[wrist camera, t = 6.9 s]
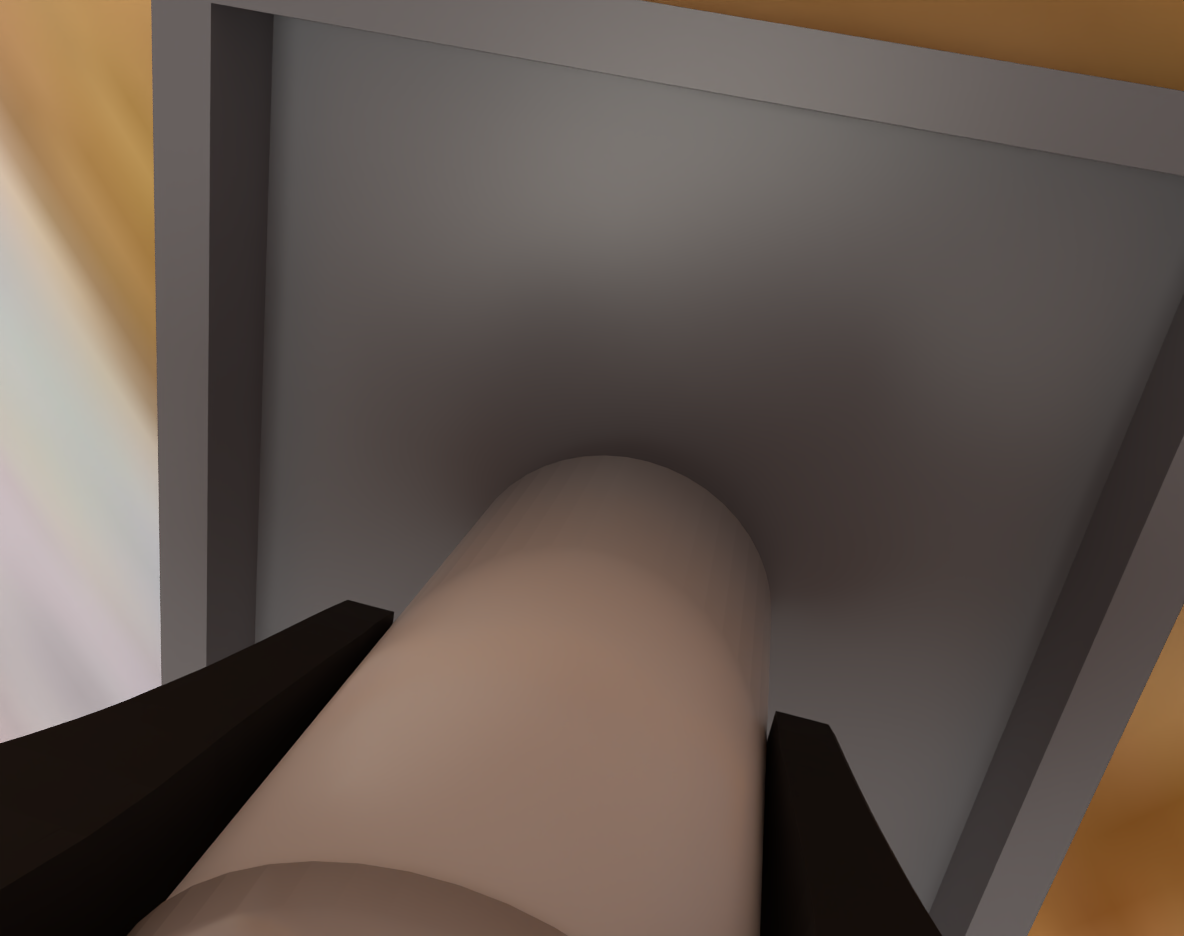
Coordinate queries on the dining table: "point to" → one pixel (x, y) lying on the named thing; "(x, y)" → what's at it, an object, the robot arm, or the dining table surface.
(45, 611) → the dining table surface
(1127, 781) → the dining table surface
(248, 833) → the salt shaker
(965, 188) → the tray
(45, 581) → the dining table surface
